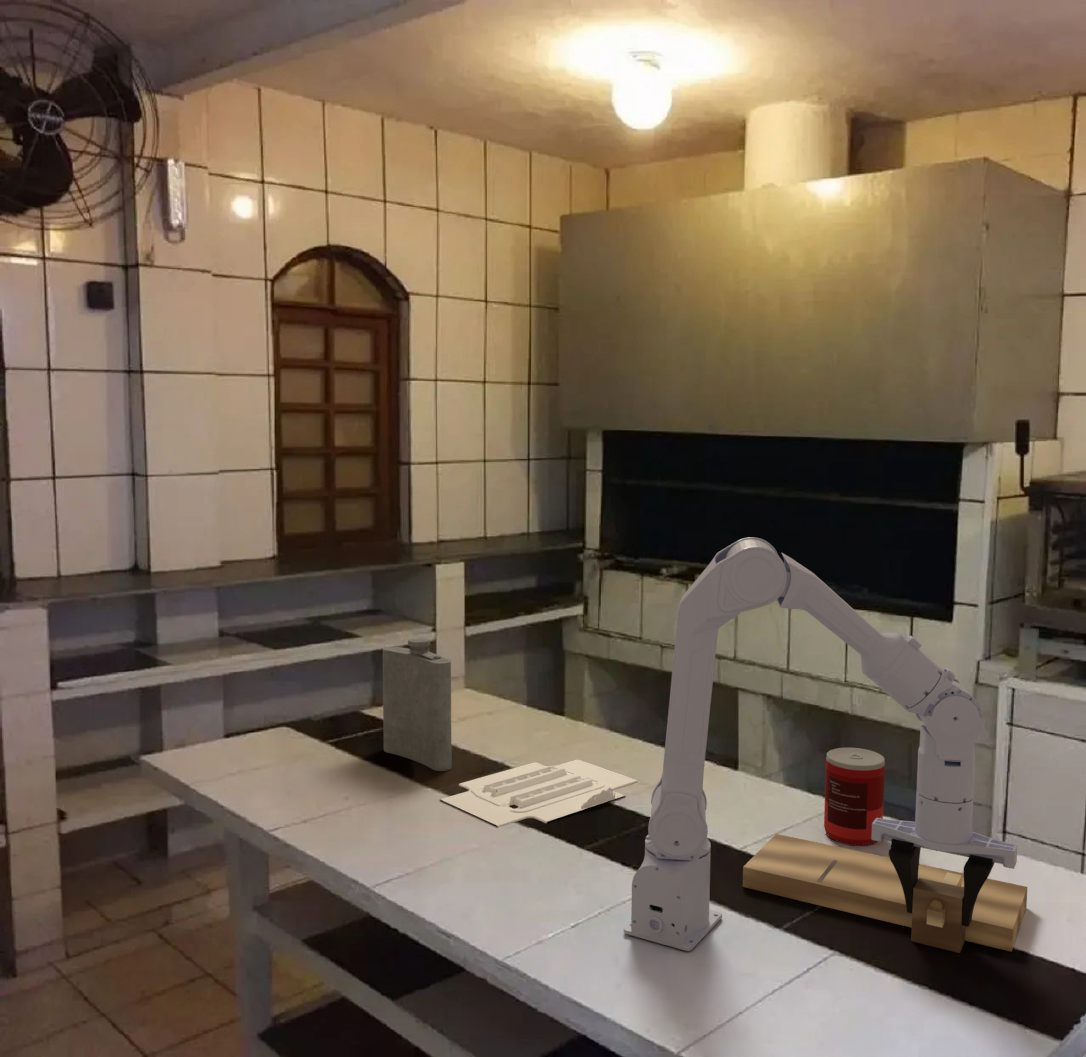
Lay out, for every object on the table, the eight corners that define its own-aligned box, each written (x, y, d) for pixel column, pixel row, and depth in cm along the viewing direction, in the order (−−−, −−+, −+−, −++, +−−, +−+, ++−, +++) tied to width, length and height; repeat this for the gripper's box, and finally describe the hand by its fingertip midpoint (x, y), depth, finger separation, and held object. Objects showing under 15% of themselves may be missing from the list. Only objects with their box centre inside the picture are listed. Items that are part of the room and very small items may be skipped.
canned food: (870, 823, 149) (873, 746, 148) (891, 846, 141) (894, 765, 140) (816, 823, 149) (818, 747, 148) (833, 846, 141) (836, 765, 140)
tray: (425, 799, 160) (425, 775, 160) (562, 765, 179) (563, 743, 178) (513, 840, 145) (514, 813, 144) (653, 798, 163) (654, 775, 163)
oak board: (1011, 951, 114) (1012, 929, 113) (742, 886, 129) (743, 866, 129) (1026, 907, 124) (1027, 886, 124) (775, 852, 139) (776, 833, 139)
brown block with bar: (958, 957, 112) (960, 902, 112) (908, 944, 115) (911, 891, 114) (975, 915, 122) (978, 865, 121) (930, 905, 124) (932, 855, 124)
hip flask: (379, 750, 181) (378, 633, 179) (399, 744, 184) (397, 630, 182) (440, 772, 170) (439, 648, 168) (459, 766, 173) (459, 644, 170)
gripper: (1023, 795, 114) (1017, 917, 115) (884, 771, 121) (879, 886, 123) (1014, 816, 108) (1007, 945, 109) (868, 789, 115) (863, 910, 117)
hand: (939, 915), depth 115 cm, fingers closed on brown block with bar, 5 cm apart
